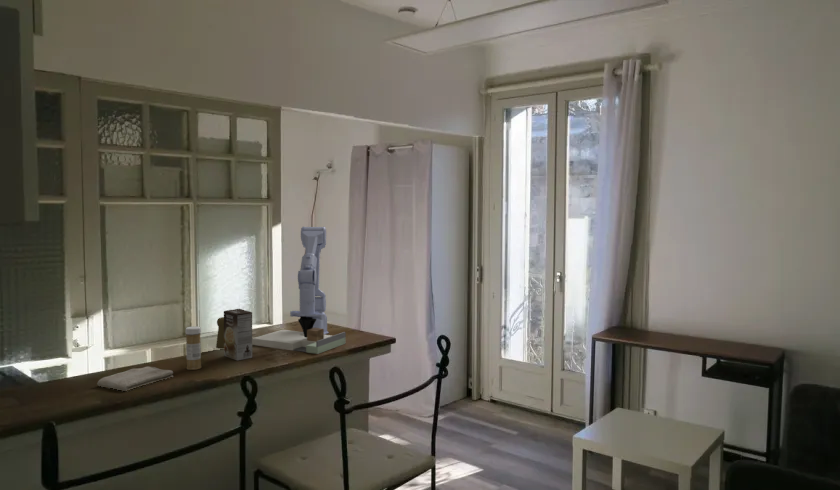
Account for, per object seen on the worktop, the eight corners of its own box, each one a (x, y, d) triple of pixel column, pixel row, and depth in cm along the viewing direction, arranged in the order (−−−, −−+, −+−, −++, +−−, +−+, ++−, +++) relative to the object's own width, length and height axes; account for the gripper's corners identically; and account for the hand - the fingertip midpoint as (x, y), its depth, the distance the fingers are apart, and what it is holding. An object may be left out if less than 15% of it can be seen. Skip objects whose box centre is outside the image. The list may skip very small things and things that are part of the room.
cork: (235, 345, 225) (235, 316, 224) (229, 348, 219) (228, 319, 218) (220, 344, 226) (219, 315, 225) (213, 348, 220) (212, 318, 219)
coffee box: (223, 356, 209) (222, 310, 208) (239, 352, 213) (239, 308, 212) (236, 360, 202) (236, 314, 201) (253, 357, 207) (253, 311, 206)
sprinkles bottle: (200, 366, 196) (199, 325, 195) (202, 369, 192) (201, 328, 191) (185, 367, 194) (184, 326, 193) (186, 371, 190) (186, 329, 189)
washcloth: (176, 378, 184) (175, 368, 184) (125, 394, 168) (124, 383, 167) (148, 373, 189) (148, 363, 189) (96, 388, 173) (96, 378, 172)
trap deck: (282, 335, 242) (282, 324, 242) (345, 343, 229) (345, 332, 228) (252, 344, 226) (252, 333, 225) (317, 353, 213) (317, 341, 212)
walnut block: (314, 338, 227) (314, 327, 226) (323, 339, 225) (323, 328, 224) (307, 340, 223) (307, 329, 222) (316, 341, 221) (316, 330, 220)
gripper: (285, 301, 224) (285, 336, 225) (316, 304, 218) (316, 341, 219) (296, 298, 230) (297, 333, 231) (328, 301, 224) (328, 337, 225)
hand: (307, 336), depth 225 cm, fingers closed
